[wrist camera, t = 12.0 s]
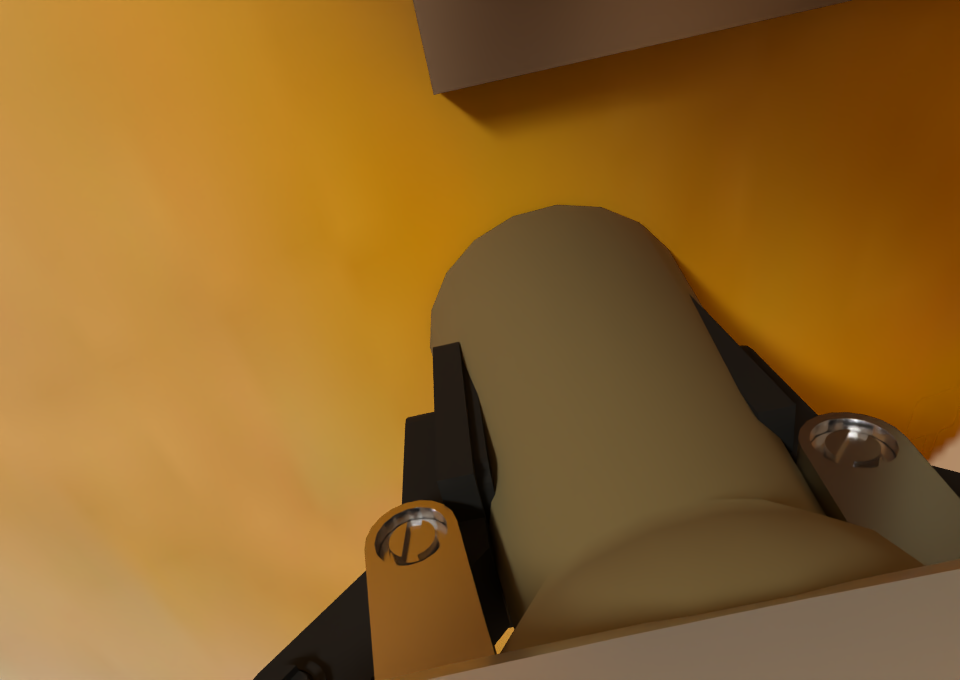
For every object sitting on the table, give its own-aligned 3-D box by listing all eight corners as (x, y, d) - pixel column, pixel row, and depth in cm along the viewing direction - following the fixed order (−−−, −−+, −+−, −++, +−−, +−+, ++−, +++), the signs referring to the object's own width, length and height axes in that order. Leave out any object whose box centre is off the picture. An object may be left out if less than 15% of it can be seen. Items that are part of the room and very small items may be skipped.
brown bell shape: (382, 272, 13) (265, 1013, 3) (649, 157, 12) (1483, 667, 3) (488, 469, 16) (593, 1183, 6) (712, 384, 15) (1224, 1035, 5)
